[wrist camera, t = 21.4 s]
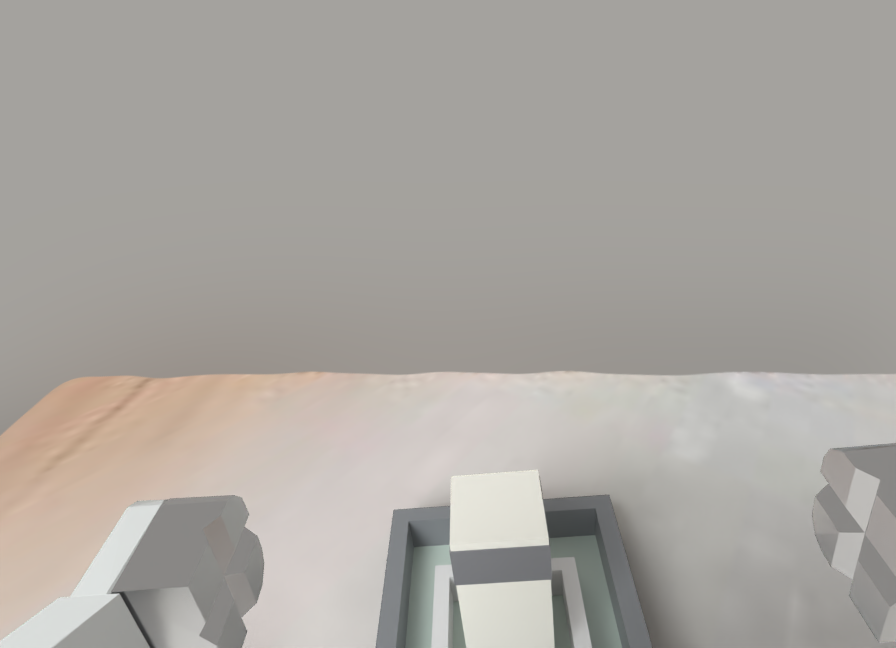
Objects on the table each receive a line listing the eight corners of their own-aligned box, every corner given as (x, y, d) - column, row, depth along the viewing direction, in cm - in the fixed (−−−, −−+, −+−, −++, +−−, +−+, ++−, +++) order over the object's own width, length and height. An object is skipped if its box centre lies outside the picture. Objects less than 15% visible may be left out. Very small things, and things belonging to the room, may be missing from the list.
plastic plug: (547, 611, 33) (539, 468, 29) (557, 687, 30) (549, 538, 25) (471, 616, 34) (449, 475, 29) (472, 691, 30) (448, 545, 25)
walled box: (608, 530, 39) (608, 494, 37) (691, 843, 25) (697, 804, 23) (401, 544, 40) (393, 509, 38) (367, 852, 26) (353, 816, 24)
